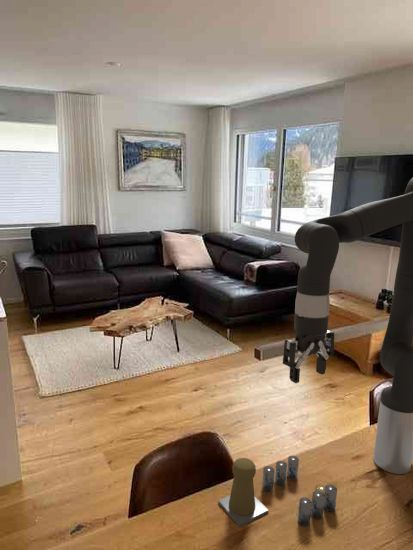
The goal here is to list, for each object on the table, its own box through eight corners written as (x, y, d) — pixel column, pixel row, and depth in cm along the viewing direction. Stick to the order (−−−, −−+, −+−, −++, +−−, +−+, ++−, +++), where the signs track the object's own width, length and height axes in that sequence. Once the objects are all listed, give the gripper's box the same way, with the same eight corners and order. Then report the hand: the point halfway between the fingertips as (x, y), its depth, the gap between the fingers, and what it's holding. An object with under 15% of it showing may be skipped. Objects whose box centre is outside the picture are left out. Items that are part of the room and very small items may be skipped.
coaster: (246, 490, 99) (246, 488, 99) (268, 512, 92) (268, 510, 92) (218, 502, 95) (218, 500, 94) (239, 526, 88) (239, 524, 88)
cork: (253, 518, 90) (256, 473, 87) (226, 512, 91) (228, 468, 89) (256, 498, 95) (259, 456, 93) (231, 493, 97) (233, 451, 94)
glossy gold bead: (318, 486, 101) (318, 481, 101) (330, 491, 99) (330, 487, 99) (313, 493, 99) (313, 488, 99) (325, 498, 97) (325, 494, 97)
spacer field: (292, 471, 106) (293, 454, 105) (337, 509, 94) (339, 490, 93) (260, 486, 100) (261, 468, 99) (303, 528, 88) (305, 508, 87)
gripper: (320, 303, 101) (316, 365, 104) (277, 312, 93) (274, 378, 97) (346, 310, 95) (340, 376, 98) (301, 321, 87) (297, 391, 91)
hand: (307, 377), depth 97 cm, fingers open, 8 cm apart
